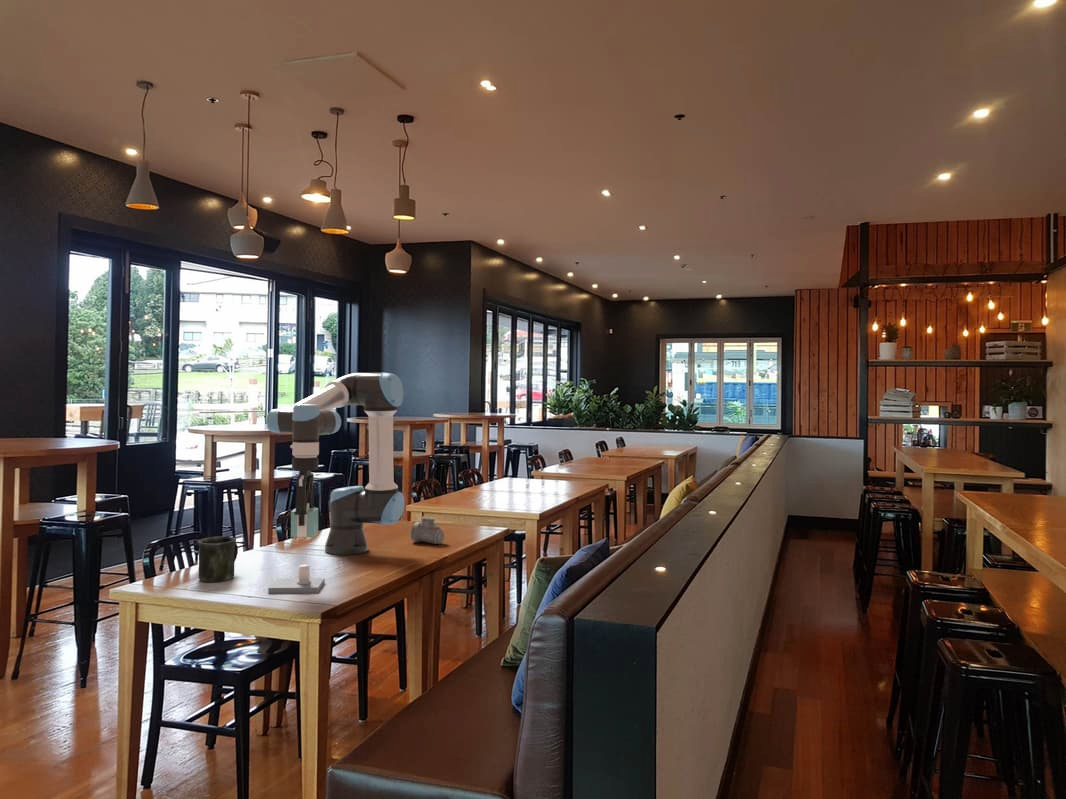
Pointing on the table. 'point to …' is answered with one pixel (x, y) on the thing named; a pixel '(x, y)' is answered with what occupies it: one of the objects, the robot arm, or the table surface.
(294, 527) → the teal cube with ledge
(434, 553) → the table surface
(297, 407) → the robot arm
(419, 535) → the pipe fitting
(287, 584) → the post board
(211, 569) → the mug
